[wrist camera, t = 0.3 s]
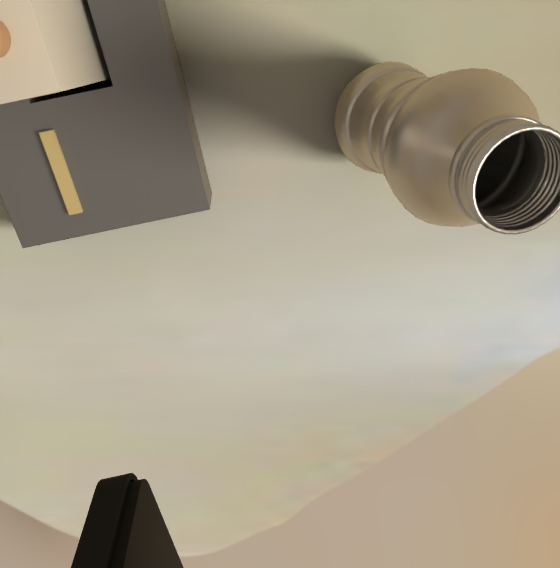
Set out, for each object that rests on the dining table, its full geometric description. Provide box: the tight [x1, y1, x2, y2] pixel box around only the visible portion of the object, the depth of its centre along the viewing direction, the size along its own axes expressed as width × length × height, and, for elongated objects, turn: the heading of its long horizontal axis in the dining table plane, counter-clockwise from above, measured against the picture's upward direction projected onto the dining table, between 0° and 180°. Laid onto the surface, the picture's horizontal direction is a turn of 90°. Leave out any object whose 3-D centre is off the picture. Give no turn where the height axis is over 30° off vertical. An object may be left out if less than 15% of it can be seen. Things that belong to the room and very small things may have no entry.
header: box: [0, 0, 212, 248], centre depth 31 cm, size 22×12×4 cm, turn 11°
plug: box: [0, 0, 111, 104], centre depth 25 cm, size 5×4×16 cm
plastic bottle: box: [335, 62, 560, 234], centre depth 27 cm, size 6×7×20 cm
